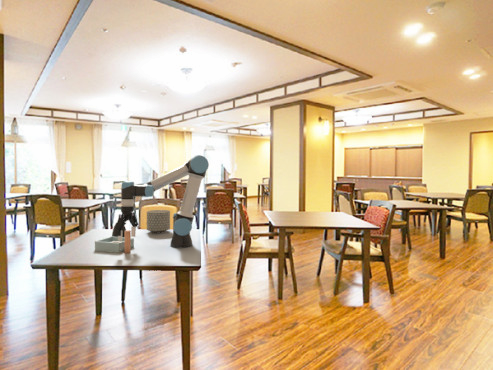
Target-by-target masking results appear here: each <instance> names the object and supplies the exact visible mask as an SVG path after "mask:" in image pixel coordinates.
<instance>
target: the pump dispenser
mask: <svg viewBox="0 0 493 370" xmlns="http://www.w3.org/2000/svg"><path fill="white" fill-rule="evenodd" d="M116 224H117V222H116V223H115V224H114V227H112V228H113V229H112V233H111V236H113V237H118V231H117V230H115V228H116ZM125 225H127V222H125V224H124V226H123V228H122V237H125V231H127V229H126V226H125Z"/></svg>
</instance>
